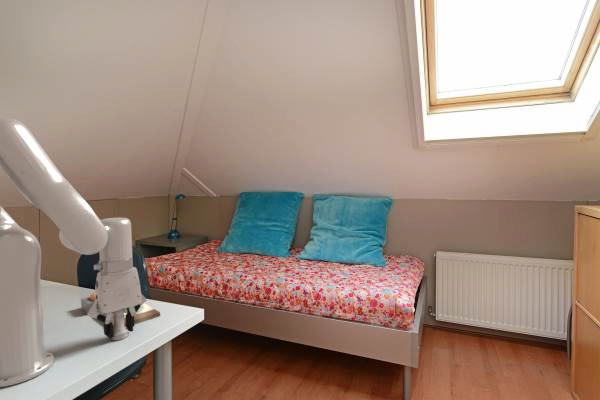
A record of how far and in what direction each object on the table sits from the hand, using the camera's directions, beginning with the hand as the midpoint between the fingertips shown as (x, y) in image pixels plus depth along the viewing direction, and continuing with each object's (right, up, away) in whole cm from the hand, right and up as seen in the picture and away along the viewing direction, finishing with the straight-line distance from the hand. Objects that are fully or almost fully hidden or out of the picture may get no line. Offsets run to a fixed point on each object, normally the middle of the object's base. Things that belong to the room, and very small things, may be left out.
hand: (119, 332), depth 90 cm
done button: (-18, +3, +19) cm, 26 cm away
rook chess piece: (0, -1, 0) cm, 1 cm away
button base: (-18, 0, +20) cm, 26 cm away
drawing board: (-4, 0, +13) cm, 14 cm away
